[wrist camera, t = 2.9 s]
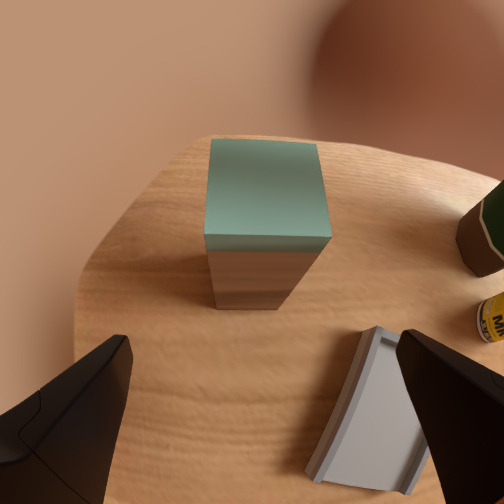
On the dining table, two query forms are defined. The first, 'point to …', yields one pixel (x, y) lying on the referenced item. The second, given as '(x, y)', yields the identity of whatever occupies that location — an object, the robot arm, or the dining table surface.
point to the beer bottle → (484, 234)
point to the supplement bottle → (491, 318)
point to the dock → (372, 424)
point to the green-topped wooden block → (263, 220)
